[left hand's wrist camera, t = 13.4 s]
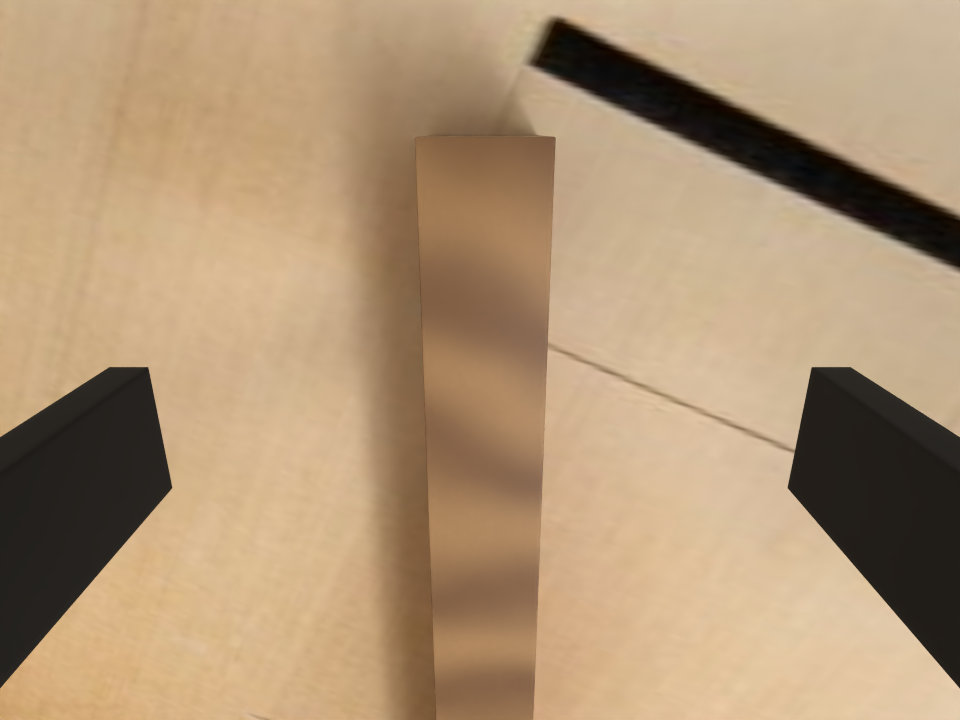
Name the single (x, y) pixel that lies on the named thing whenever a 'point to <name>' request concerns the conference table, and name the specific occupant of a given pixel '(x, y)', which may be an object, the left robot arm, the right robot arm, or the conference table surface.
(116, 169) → the conference table surface
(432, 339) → the beam
